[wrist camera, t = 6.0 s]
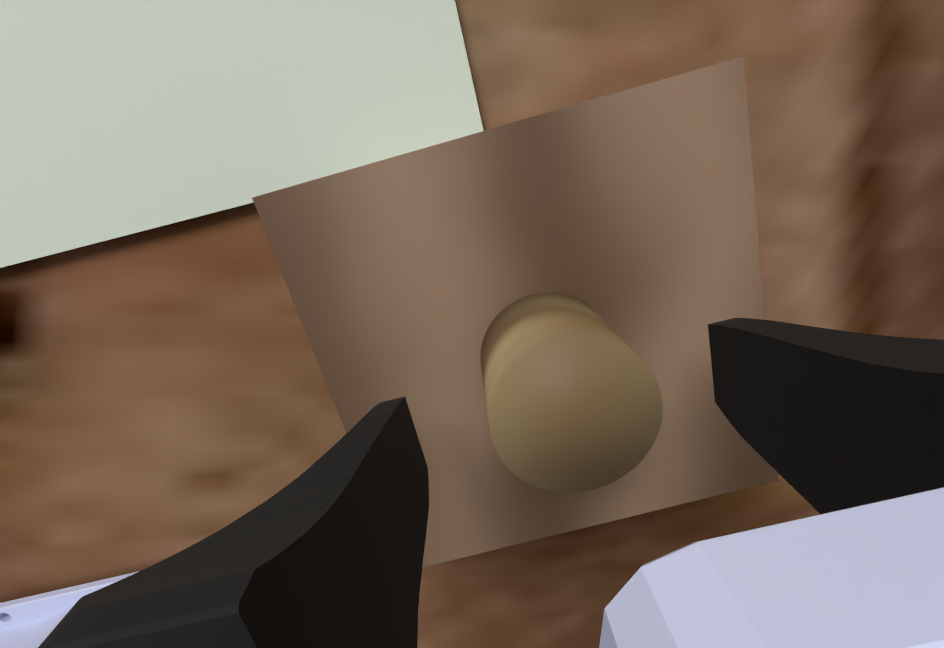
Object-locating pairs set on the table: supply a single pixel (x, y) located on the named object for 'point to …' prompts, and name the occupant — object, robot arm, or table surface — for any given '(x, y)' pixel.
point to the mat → (208, 105)
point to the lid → (542, 306)
